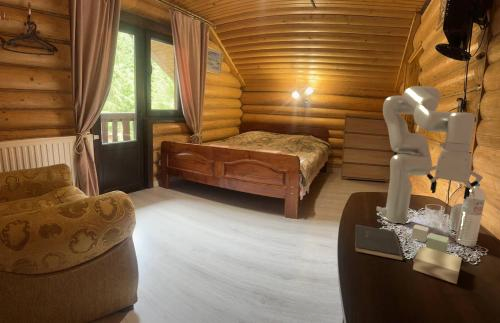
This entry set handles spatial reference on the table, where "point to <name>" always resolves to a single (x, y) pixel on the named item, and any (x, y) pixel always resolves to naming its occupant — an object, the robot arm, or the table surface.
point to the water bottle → (471, 217)
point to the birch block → (437, 264)
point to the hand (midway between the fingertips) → (448, 195)
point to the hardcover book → (377, 242)
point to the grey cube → (420, 233)
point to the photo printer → (455, 216)
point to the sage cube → (437, 242)
